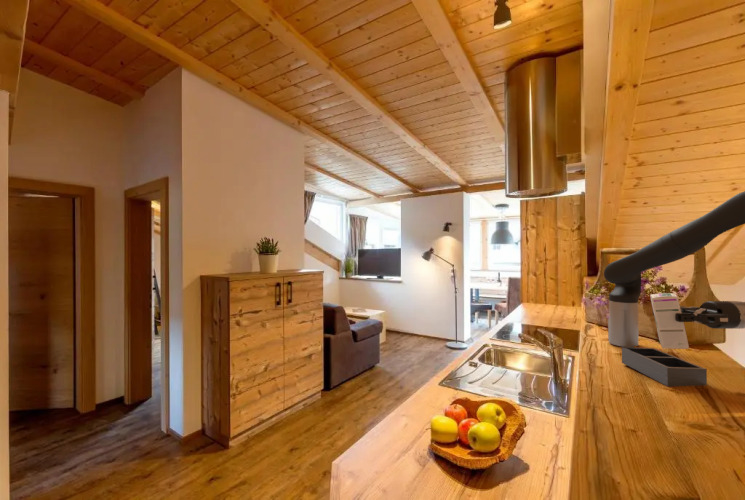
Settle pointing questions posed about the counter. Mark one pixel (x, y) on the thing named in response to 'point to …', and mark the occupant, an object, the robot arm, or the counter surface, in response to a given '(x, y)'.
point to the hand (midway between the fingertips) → (664, 314)
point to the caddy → (664, 367)
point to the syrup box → (669, 321)
